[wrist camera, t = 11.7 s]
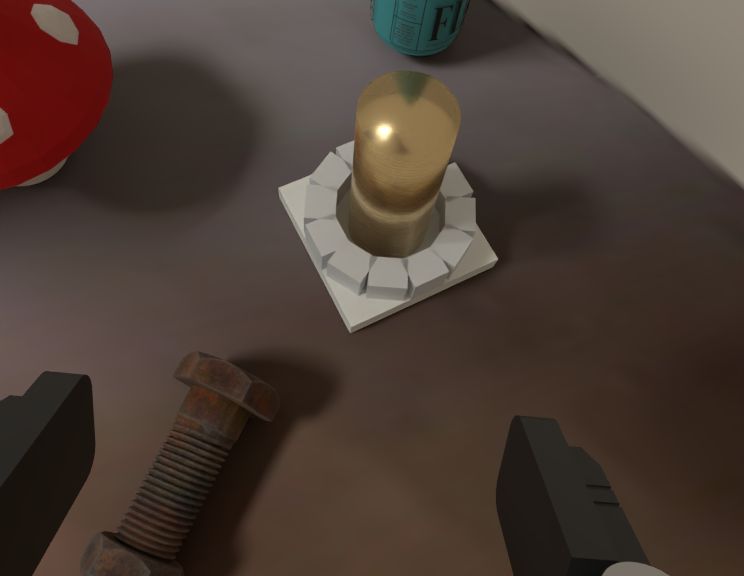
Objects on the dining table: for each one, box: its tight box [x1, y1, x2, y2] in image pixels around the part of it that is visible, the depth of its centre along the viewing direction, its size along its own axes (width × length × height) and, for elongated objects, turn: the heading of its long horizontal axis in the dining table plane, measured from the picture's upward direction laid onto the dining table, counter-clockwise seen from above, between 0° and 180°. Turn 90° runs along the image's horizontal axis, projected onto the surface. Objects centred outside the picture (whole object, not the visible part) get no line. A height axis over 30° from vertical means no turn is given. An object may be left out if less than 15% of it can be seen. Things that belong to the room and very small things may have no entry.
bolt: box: [80, 351, 281, 576], centre depth 33 cm, size 6×5×15 cm
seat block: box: [278, 141, 498, 333], centre depth 40 cm, size 10×10×3 cm
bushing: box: [348, 71, 461, 259], centre depth 36 cm, size 5×5×11 cm
